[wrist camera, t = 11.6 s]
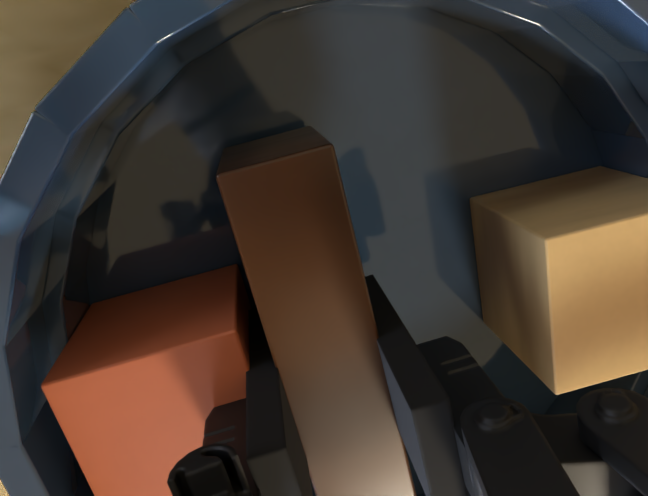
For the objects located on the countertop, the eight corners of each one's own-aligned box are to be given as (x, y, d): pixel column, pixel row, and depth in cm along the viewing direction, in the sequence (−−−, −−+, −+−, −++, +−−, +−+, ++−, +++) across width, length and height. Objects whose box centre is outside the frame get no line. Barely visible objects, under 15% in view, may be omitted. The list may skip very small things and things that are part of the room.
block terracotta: (91, 303, 16) (38, 385, 12) (237, 262, 17) (236, 329, 12) (143, 424, 18) (112, 535, 14) (276, 385, 18) (286, 482, 14)
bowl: (-73, 56, 14) (-246, 48, 9) (620, -113, 16) (812, -203, 11) (173, 585, 21) (153, 755, 16) (644, 433, 22) (769, 543, 17)
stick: (222, 148, 15) (214, 174, 11) (311, 124, 15) (333, 142, 11) (326, 490, 19) (347, 595, 15) (396, 469, 19) (433, 568, 15)
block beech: (468, 197, 17) (545, 239, 13) (600, 165, 18) (716, 195, 13) (482, 322, 19) (555, 396, 15) (604, 290, 19) (709, 353, 15)
